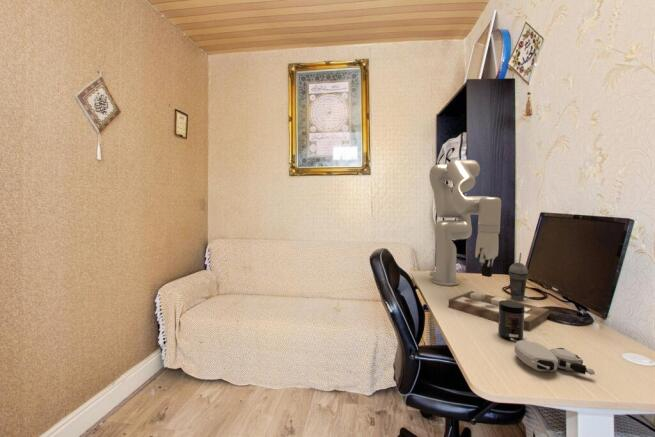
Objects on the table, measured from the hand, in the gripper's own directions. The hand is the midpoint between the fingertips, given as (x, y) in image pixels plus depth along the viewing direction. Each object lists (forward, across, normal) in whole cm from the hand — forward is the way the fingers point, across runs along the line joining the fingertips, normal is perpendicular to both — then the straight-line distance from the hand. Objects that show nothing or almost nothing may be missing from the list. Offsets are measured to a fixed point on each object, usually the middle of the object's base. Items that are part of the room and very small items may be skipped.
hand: (486, 275), depth 119 cm
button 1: (+10, 0, -3) cm, 11 cm away
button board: (+12, +2, +5) cm, 14 cm away
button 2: (+11, +1, +13) cm, 17 cm away
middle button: (+10, 0, +5) cm, 12 cm away
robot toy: (+12, +31, +29) cm, 44 cm away
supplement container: (+12, +21, +17) cm, 29 cm away
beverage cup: (+13, -20, +4) cm, 24 cm away
